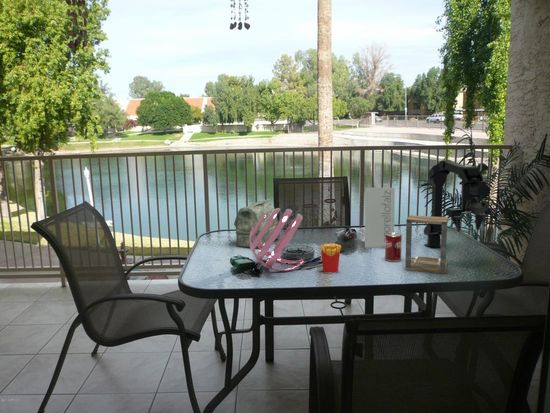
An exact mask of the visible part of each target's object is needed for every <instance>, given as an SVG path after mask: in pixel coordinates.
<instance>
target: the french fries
mask: <svg viewBox="0 0 550 413" xmlns="http://www.w3.org/2000/svg"><path fill="white" fill-rule="evenodd" d="M320 247H321V251H320V256H321V263H322V271H323V273H326V272H331V273H332V274H333V273H335V272H336V273H338V272H339V268H340V266H339V263H340V257H341V256H340V254H341V248H342V246H341V244H337V243H329V244H328V243H324V244H323V245H320ZM331 273H330V274H331Z"/></svg>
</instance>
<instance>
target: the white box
mask: <svg viewBox="0 0 550 413" xmlns="http://www.w3.org/2000/svg"><path fill="white" fill-rule="evenodd" d="M395 189H396V188H395V187H365V190H364V192H365V194H364V195H365V196H364V197H365V198H364V199H365V200H364V248H370V249H385V235H386V234H387V233H395V207H396V206H395V199H396V198H395V196H396V193H395V192H396V190H395Z"/></svg>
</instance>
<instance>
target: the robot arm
mask: <svg viewBox="0 0 550 413" xmlns="http://www.w3.org/2000/svg"><path fill="white" fill-rule="evenodd" d="M451 173H453V174H456V175H457V177H458V178H459V179H460V180H461V181H459V183H458V184H459V185H461V196H460V197H459V201H461V206H459V209H458V208H456V207H454V208H453V207H452V208H447V209H446V211H445V216H447V217H448V218H450V219H451V220H452V222H453V224H454V226H455V229H456V230H457V232H459V233H460V232H461V220H462V218H463V217H462V215H467V214H472V215H474V219H475V229H476V231H480V228H481V226H482V223H483V221H484V219H485V218H486V217H489V216H490V215H491V214H492V208H491V207H489V203H488V202H487V201H485V202H479V198H483V199H484V198H487V197H488V196H490V193H491V187H490V186H489V185H488V184H487V182H486V181H484V178H483V176H482V174H481V172H480V169H479V168H478V166H475V165H473V166H472V165H470V166H469V165H467V166H466V165H462V164H460V163H458V162H454V161H452V160H450V159H444V160H440V161H439V162H438V163H436V164H435V165H434V166H432V167H431V168H430V169H429V170H428V173H427V176H428V181H429V183H430V185H431V215H430V216H433V217H444V216H443V189H444V185H445V183H446V182H447V180H448V176H449V174H451ZM426 224H427V225H426V226H425V227H424V228H423V235H425V236H426V243H425V244H424V246H426V247H427V248H430V249H437V248H441V230H442V224H428V223H426Z"/></svg>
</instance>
